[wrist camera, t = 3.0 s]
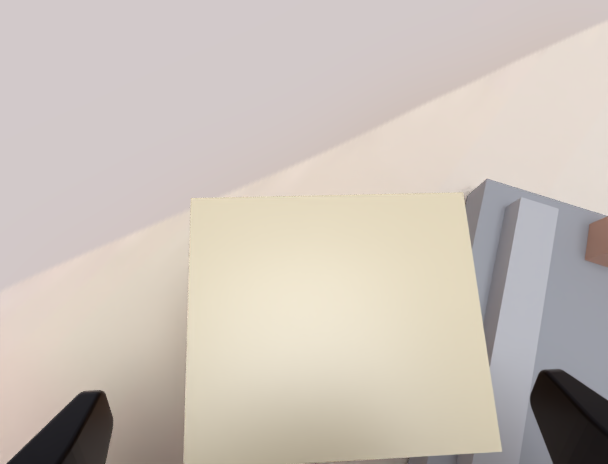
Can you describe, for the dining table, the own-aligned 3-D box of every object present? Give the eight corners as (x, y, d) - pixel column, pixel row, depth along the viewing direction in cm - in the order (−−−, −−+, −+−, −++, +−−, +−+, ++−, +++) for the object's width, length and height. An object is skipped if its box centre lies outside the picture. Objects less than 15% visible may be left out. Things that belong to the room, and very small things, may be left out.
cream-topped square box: (366, 394, 18) (501, 451, 7) (242, 400, 18) (182, 470, 7) (358, 286, 19) (463, 192, 8) (241, 290, 19) (191, 198, 8)
